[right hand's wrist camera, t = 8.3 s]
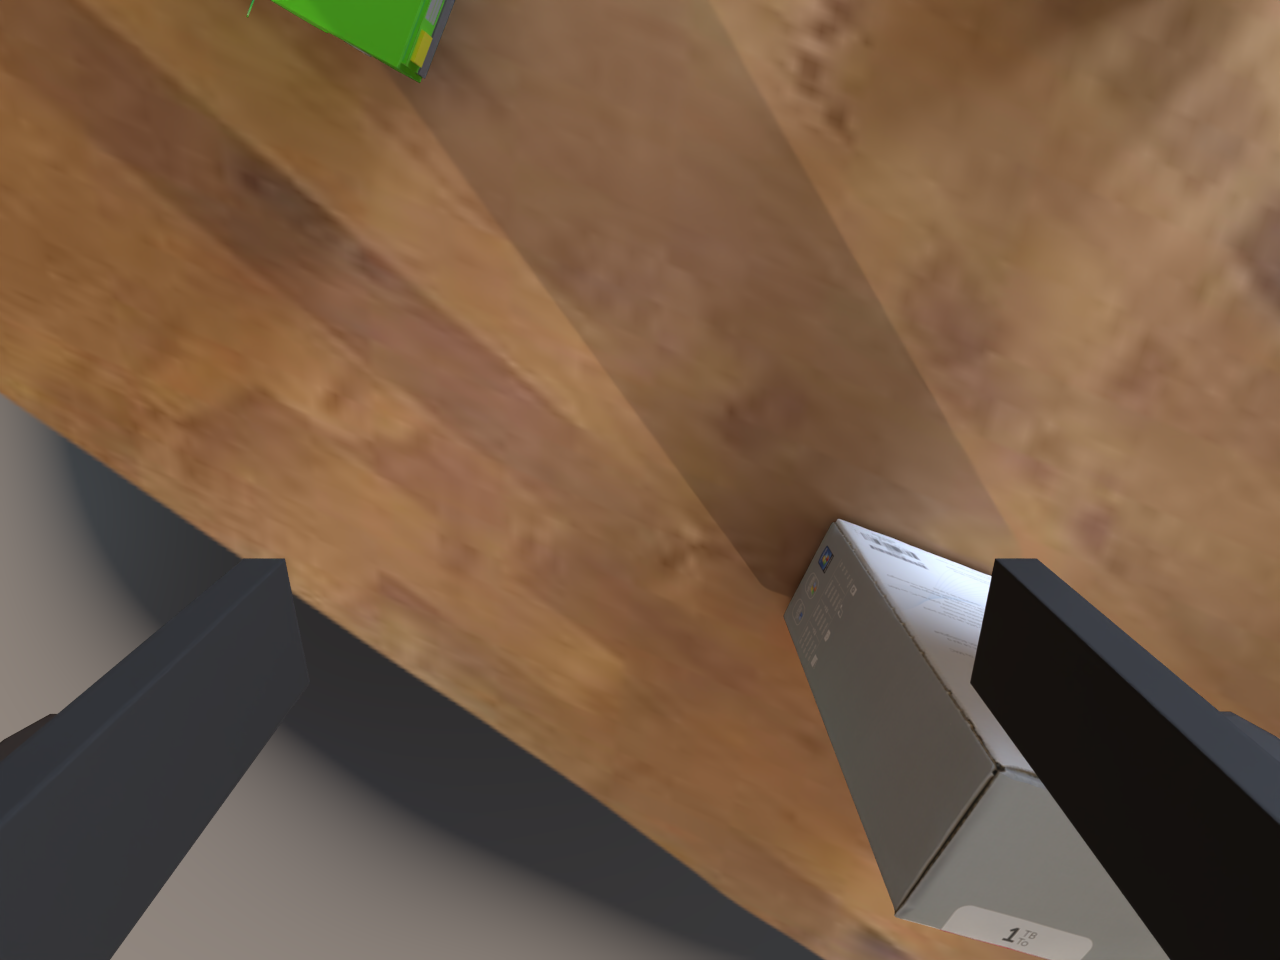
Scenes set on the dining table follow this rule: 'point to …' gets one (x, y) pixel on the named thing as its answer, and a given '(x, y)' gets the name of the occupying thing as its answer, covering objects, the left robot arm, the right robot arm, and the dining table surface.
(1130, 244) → the dining table surface
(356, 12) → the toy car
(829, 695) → the hard drive box
